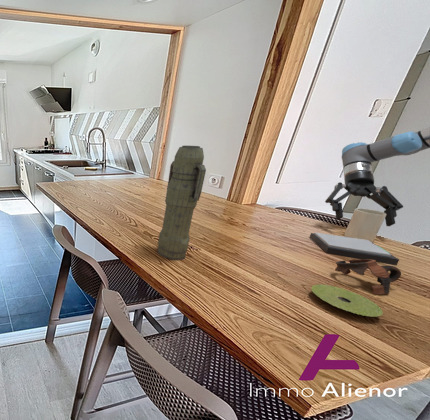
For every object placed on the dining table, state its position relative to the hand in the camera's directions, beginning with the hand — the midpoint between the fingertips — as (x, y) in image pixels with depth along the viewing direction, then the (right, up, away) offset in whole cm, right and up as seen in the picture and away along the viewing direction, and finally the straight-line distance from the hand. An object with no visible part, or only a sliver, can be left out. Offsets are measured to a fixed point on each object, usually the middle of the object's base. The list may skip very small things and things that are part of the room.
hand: (364, 221), depth 93 cm
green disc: (-50, -19, -35) cm, 63 cm away
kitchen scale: (-16, -10, -8) cm, 20 cm away
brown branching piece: (-34, -16, -27) cm, 46 cm away
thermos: (-80, -10, -11) cm, 81 cm away
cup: (0, -7, +2) cm, 7 cm away
